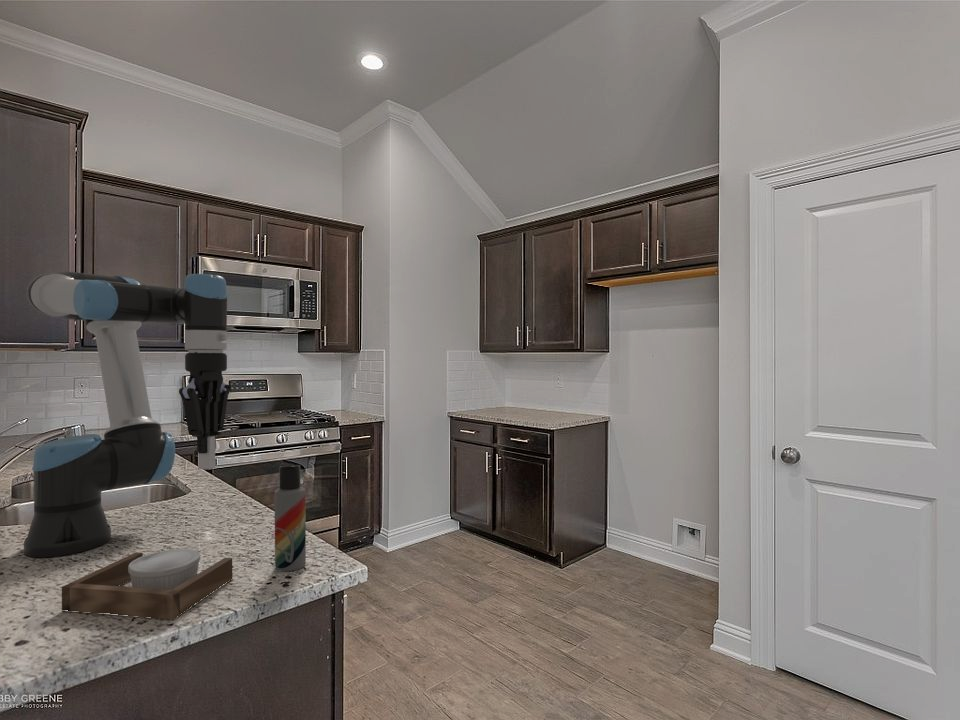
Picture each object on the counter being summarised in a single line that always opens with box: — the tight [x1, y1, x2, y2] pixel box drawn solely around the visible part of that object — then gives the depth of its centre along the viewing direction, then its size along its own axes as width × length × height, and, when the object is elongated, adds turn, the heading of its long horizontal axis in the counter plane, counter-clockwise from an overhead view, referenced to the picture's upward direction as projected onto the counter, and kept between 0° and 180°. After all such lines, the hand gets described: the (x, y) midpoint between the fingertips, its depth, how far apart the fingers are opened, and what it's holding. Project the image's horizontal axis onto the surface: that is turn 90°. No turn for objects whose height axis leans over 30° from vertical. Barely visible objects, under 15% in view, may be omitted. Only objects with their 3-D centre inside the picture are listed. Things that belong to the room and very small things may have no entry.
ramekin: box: [128, 548, 201, 590], centre depth 95 cm, size 11×11×5 cm
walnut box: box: [61, 552, 233, 620], centre depth 92 cm, size 20×15×4 cm
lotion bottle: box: [274, 464, 307, 572], centre depth 104 cm, size 6×6×20 cm
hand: (206, 468), depth 108 cm, fingers closed
